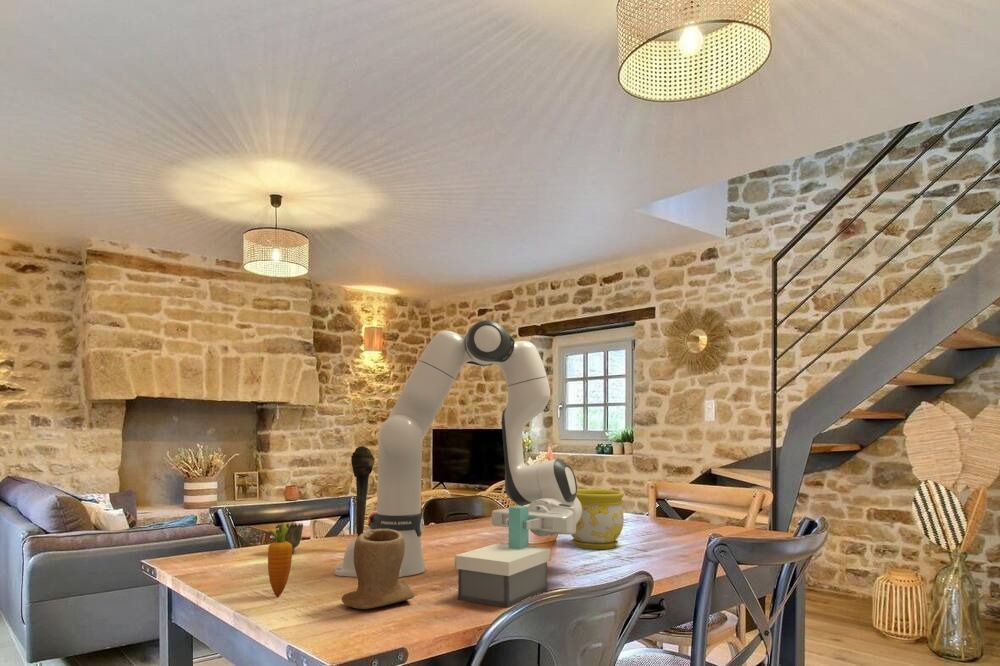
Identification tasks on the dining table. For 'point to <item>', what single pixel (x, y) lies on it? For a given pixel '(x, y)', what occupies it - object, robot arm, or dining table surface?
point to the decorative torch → (361, 481)
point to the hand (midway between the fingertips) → (516, 524)
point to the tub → (501, 586)
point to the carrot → (279, 560)
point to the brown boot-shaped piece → (378, 570)
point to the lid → (506, 550)
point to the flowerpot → (599, 519)
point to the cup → (292, 534)
